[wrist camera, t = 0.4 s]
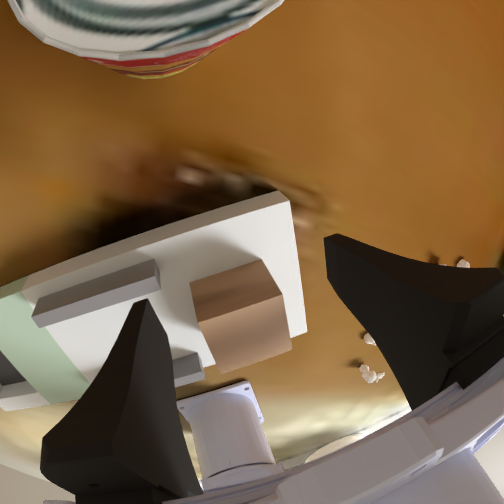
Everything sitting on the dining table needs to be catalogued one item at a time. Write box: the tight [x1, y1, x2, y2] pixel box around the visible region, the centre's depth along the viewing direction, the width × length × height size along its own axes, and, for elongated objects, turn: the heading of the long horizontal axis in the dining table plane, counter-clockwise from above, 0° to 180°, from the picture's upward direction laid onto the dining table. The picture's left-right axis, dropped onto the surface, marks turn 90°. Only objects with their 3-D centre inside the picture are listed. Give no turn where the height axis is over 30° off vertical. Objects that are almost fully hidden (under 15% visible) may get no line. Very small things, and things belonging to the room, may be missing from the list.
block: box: [189, 259, 292, 374], centre depth 21 cm, size 5×5×4 cm
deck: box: [0, 191, 307, 411], centre depth 21 cm, size 12×32×4 cm, turn 101°
